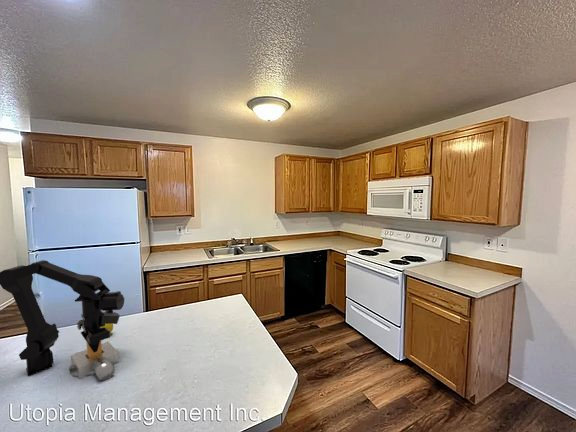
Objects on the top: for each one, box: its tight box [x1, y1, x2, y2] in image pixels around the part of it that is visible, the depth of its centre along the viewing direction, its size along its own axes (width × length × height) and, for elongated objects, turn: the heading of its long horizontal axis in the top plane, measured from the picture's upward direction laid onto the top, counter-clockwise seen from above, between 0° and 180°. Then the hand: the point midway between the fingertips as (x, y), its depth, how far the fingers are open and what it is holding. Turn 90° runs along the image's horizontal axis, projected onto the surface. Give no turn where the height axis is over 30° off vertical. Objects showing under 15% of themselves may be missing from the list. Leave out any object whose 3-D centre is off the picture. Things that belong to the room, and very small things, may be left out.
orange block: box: [86, 340, 103, 359], centre depth 96 cm, size 4×2×8 cm, turn 141°
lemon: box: [101, 324, 114, 334], centre depth 116 cm, size 6×6×8 cm
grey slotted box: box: [69, 341, 120, 381], centre depth 94 cm, size 15×22×5 cm
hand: (94, 350), depth 96 cm, fingers closed on orange block, 2 cm apart
